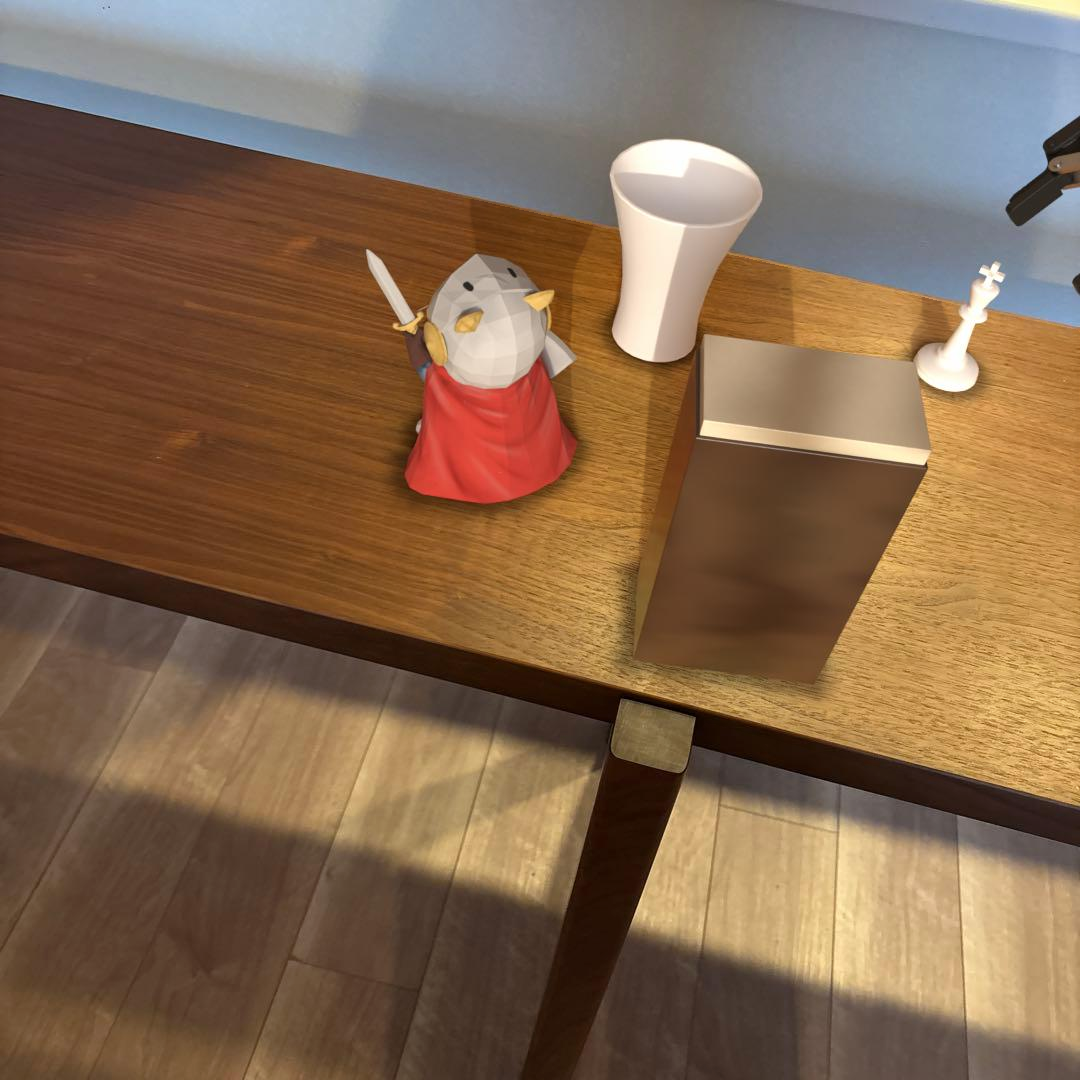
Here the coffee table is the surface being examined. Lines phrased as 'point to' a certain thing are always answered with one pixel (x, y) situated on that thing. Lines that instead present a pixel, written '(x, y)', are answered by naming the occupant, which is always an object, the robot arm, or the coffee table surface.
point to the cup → (674, 238)
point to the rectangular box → (776, 505)
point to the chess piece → (959, 339)
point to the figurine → (484, 383)
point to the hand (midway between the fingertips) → (1043, 253)
